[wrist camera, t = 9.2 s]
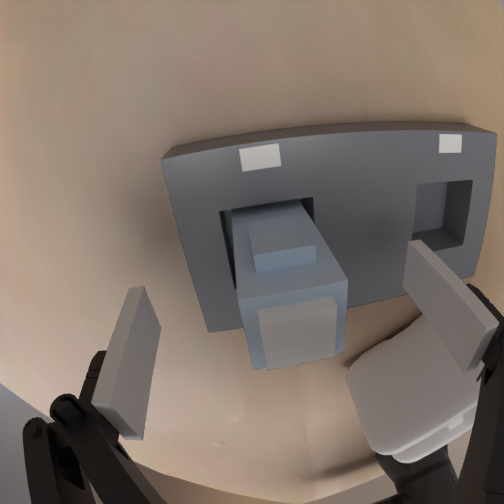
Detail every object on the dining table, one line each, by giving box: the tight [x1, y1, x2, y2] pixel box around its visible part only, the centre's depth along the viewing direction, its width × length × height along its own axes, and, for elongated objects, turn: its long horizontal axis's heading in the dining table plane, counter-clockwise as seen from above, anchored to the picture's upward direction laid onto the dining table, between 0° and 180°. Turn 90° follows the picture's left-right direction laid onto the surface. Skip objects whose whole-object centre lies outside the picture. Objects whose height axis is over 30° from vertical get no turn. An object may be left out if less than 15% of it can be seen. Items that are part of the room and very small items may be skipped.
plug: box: [231, 199, 348, 370], centre depth 16 cm, size 5×4×11 cm
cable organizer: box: [346, 314, 485, 463], centre depth 25 cm, size 15×11×12 cm
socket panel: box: [161, 122, 497, 332], centre depth 19 cm, size 12×22×4 cm, turn 98°
